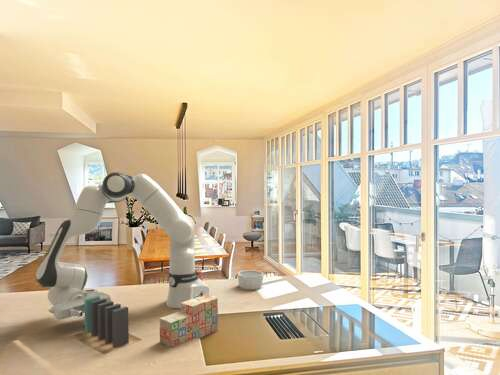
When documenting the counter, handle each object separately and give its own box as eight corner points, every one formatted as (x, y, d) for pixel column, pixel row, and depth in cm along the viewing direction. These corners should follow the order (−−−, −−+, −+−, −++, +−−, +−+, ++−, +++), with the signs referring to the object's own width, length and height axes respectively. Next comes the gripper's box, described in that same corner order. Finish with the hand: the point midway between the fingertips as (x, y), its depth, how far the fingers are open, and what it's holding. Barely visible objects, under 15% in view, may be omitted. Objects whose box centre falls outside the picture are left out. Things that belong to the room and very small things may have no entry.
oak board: (107, 326, 147) (107, 323, 147) (142, 342, 133) (142, 339, 133) (70, 338, 136) (70, 335, 136) (104, 357, 122) (104, 354, 122)
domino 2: (104, 331, 140) (104, 298, 139) (107, 332, 139) (106, 299, 138) (91, 335, 136) (90, 301, 135) (93, 336, 135) (93, 302, 134)
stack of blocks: (171, 350, 127) (170, 313, 126) (159, 345, 131) (159, 309, 130) (218, 330, 143) (217, 297, 142) (206, 326, 147) (206, 294, 146)
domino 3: (111, 334, 137) (111, 300, 136) (113, 335, 136) (113, 301, 135) (98, 339, 133) (97, 304, 132) (100, 340, 132) (100, 305, 131)
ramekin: (254, 292, 189) (254, 278, 189) (232, 287, 196) (232, 274, 196) (268, 285, 200) (268, 272, 200) (246, 281, 207) (246, 268, 207)
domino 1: (98, 328, 142) (97, 295, 142) (100, 329, 141) (99, 296, 141) (85, 332, 139) (84, 299, 138) (87, 333, 138) (86, 300, 137)
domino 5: (126, 341, 131) (125, 306, 131) (128, 342, 130) (128, 307, 130) (112, 346, 127) (112, 310, 127) (115, 348, 126) (114, 311, 126)
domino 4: (118, 338, 134) (118, 303, 133) (121, 339, 133) (120, 304, 132) (105, 342, 130) (104, 307, 130) (107, 344, 129) (107, 308, 129)
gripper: (46, 301, 140) (64, 309, 131) (99, 288, 156) (118, 294, 147) (46, 318, 140) (64, 328, 131) (99, 303, 156) (118, 311, 147)
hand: (93, 310), depth 139 cm, fingers open, 8 cm apart
